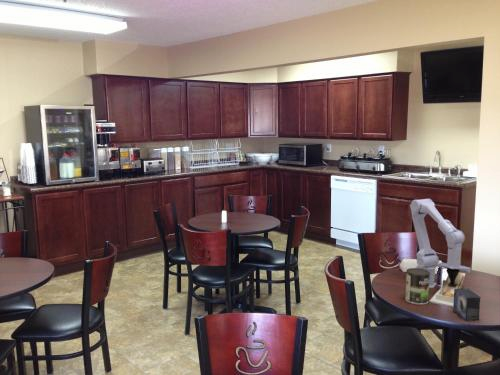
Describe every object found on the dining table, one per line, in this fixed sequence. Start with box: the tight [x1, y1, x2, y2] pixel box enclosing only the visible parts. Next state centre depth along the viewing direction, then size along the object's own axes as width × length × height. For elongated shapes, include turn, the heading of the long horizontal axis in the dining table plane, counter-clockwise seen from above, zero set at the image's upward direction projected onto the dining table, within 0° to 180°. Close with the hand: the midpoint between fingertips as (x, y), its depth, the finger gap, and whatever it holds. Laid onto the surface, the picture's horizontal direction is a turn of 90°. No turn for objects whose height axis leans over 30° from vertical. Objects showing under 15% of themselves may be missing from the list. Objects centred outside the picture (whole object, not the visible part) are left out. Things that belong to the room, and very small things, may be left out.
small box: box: [452, 287, 481, 322], centre depth 198 cm, size 11×6×10 cm, turn 5°
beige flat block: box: [435, 290, 454, 303], centre depth 215 cm, size 9×8×2 cm
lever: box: [442, 271, 466, 295], centre depth 222 cm, size 7×17×5 cm, turn 144°
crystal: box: [399, 258, 443, 275], centre depth 255 cm, size 7×7×24 cm
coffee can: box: [404, 268, 430, 306], centre depth 214 cm, size 10×10×14 cm
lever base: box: [429, 279, 466, 308], centre depth 219 cm, size 13×25×6 cm, turn 144°
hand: (452, 283), depth 220 cm, fingers closed
